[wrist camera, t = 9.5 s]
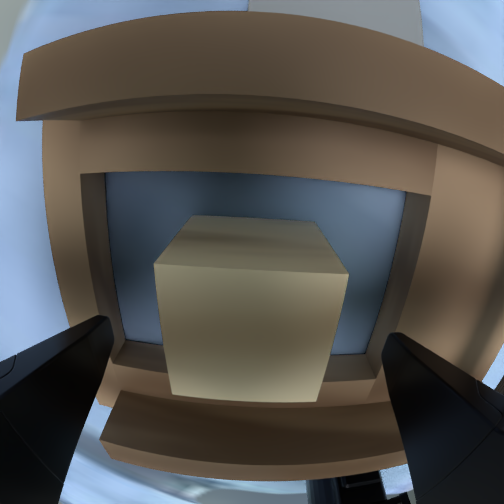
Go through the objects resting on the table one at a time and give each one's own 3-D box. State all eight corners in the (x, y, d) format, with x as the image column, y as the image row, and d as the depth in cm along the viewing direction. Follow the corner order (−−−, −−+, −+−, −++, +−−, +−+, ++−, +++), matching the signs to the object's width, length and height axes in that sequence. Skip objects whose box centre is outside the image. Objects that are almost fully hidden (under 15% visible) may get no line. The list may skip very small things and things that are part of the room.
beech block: (299, 322, 14) (316, 401, 9) (195, 316, 14) (172, 394, 9) (314, 221, 12) (349, 274, 7) (192, 214, 12) (153, 263, 7)
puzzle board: (457, 383, 16) (488, 434, 11) (110, 382, 16) (79, 447, 11) (532, 150, 10) (599, 167, 5) (71, 85, 9) (-15, 73, 4)
